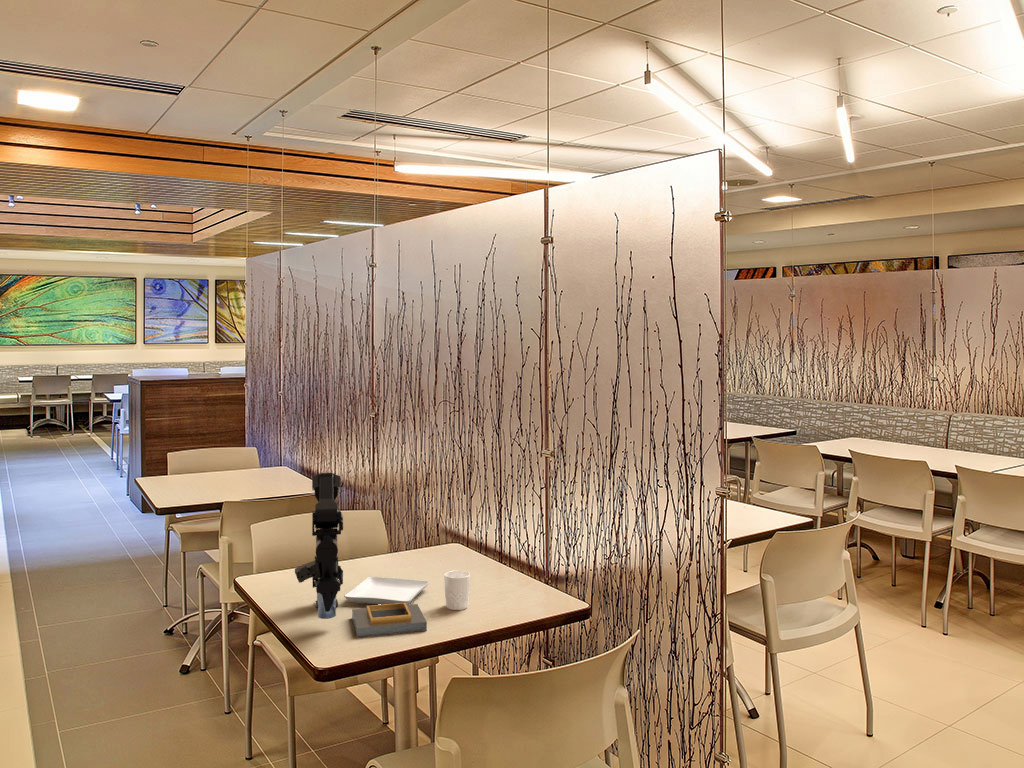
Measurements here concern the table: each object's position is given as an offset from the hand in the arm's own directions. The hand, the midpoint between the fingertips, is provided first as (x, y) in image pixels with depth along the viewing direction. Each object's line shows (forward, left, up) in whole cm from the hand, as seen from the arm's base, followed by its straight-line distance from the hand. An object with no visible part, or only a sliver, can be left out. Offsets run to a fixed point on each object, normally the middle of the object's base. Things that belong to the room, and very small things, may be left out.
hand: (326, 608), depth 214 cm
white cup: (-10, +39, -6) cm, 41 cm away
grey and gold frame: (0, +17, -6) cm, 18 cm away
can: (0, 0, -2) cm, 2 cm away
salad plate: (-25, +20, -7) cm, 33 cm away
